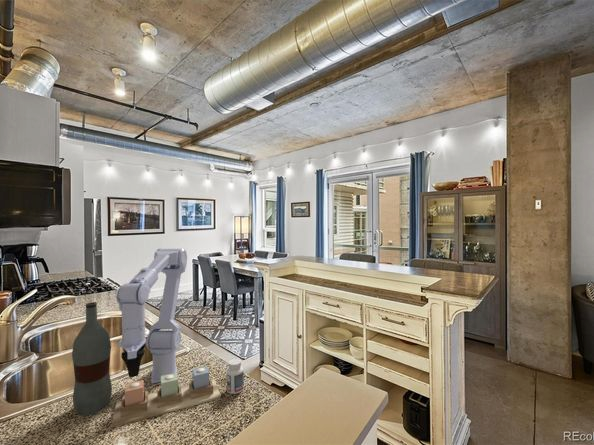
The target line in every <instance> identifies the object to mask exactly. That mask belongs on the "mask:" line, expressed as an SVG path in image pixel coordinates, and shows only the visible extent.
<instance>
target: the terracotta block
mask: <svg viewBox="0 0 594 445" xmlns="http://www.w3.org/2000/svg"><path fill="white" fill-rule="evenodd" d="M144 385H145V384H144V379H142V380H137V381H133V382H132V381H131V382H128V383H125V388H124V396H125V407H126V406H130V405H134V404H138V403H142V402H143V400H144V391H145V389H144V387H145V386H144Z"/></svg>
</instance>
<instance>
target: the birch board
mask: <svg viewBox="0 0 594 445" xmlns="http://www.w3.org/2000/svg"><path fill="white" fill-rule="evenodd" d="M156 389H157V391H156V392H151V393H149V390H148V389H147V390H144V400H143V402H142V403H138V404H134V405H130V406H126V407H125V395H122V399H121V400H118V401H116V404H115V407H114V412H113V417H112V422H111V428H116V427H118V426H119V427H120V426H123V425H127V424H130V423H135V422H137V421H141V420H144V419H148V418H151V417H152V418H153V417H156V416H159V415H160V416H161V415H163V414H168V413H170V412H174V411H177V410H178V411H179V410H182V409H186V408H190V407H194V406H196V405H200V404H204V403H208V402H213V401H215V400H219V399H221V398H222V395H221V392H220V390H219V387H218V385H217V382H216V378H212V377H211V375H209V386H206V387H202V388H198V389H194V387H193V379H191V380H188V384H185V385H181V382H178V394H174V395H170V396H166V397H162V398H161V386H160V387H157V388H156Z"/></svg>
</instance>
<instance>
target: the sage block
mask: <svg viewBox="0 0 594 445" xmlns="http://www.w3.org/2000/svg"><path fill="white" fill-rule="evenodd" d="M177 375H178V372H177V373H173V374H168V375H163V376H161V382H160V387H161V398H162V397H166V396H170V395H174V394H178V383H179V382H178V381H179V379H178V377H177Z"/></svg>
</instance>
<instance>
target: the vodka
mask: <svg viewBox="0 0 594 445" xmlns="http://www.w3.org/2000/svg"><path fill="white" fill-rule="evenodd" d="M97 304H98V303H97V302H96V301H93V302H91V301H90V302H87V303H85V324H84V325H83V326H82V328H81V329H80V331H79V332H78V334H77V336H76V337H75V338H74V341H73V345H72V352H71V358H72V364H73V371H74V372H73V373H74V386H73V392H72V393H73V394H72V405H73V409H74V412H75V414H76V415H77V416H82V417H84V416H85V417H86V416H91V415H94V414H97V413H99V412H102V411H103V410H104V409H107V407H109V405H110V403H111V399H112V390H113V388H112V380H111V375H110V362H111V351H112V344H111V337H110V334H109V332H108V331H107V330H106V329H105V327H104V326H103V325H101V323H100V322H99V321H98V308H97V306H98V305H97Z"/></svg>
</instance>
